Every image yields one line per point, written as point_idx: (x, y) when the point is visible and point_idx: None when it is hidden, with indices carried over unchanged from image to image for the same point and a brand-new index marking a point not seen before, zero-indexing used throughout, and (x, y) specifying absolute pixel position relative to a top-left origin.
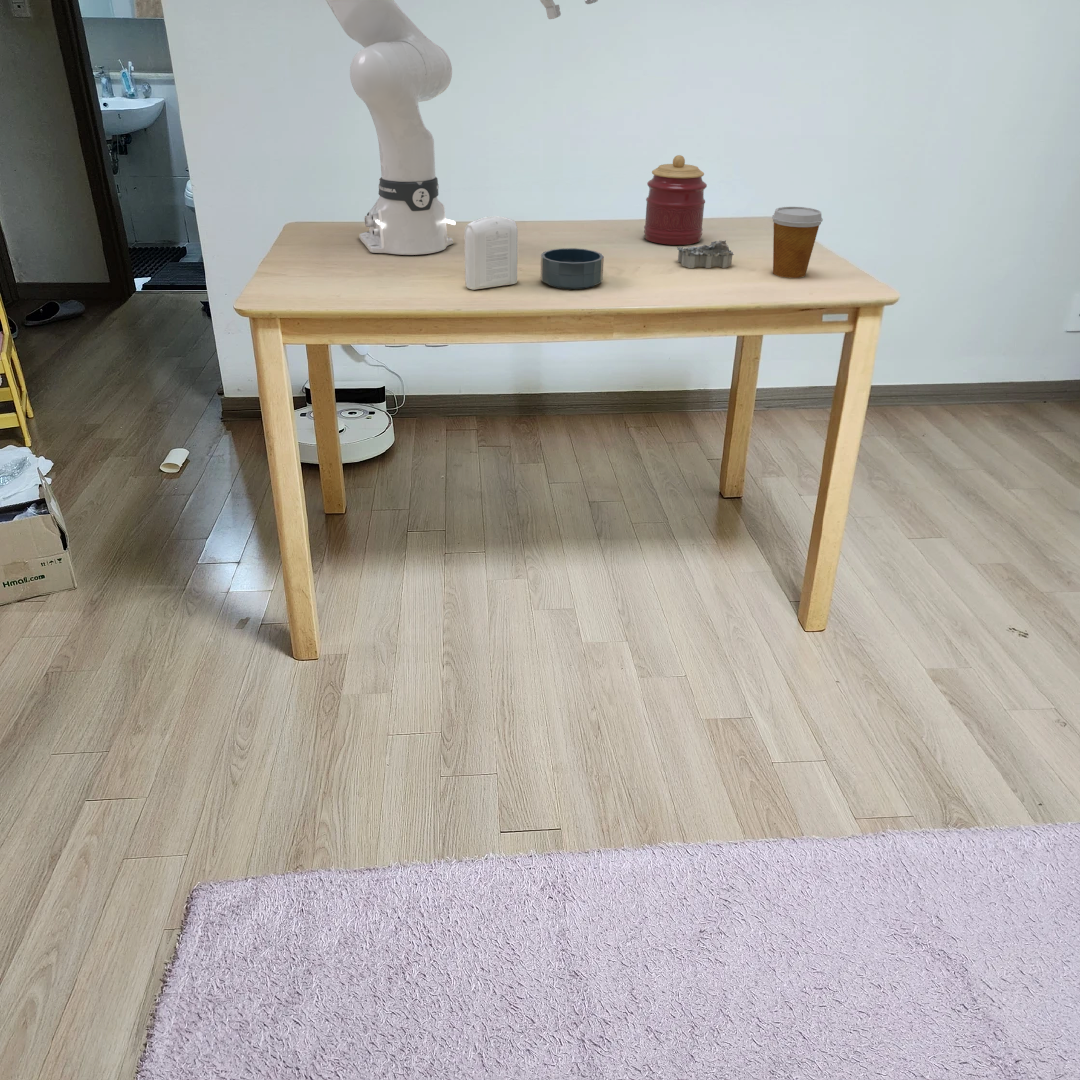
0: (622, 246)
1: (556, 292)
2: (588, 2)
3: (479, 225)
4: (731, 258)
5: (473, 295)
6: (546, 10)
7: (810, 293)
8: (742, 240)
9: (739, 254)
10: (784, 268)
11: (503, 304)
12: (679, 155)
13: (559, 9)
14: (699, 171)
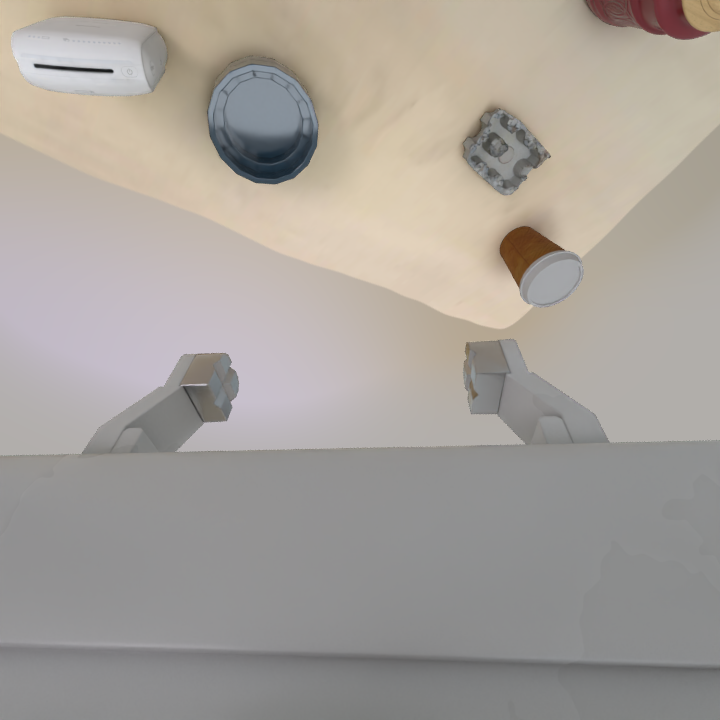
0: None
1: (212, 153)
2: (467, 358)
3: (44, 84)
4: (513, 184)
5: None
6: (170, 377)
7: (461, 301)
8: (684, 55)
9: (582, 132)
10: (503, 256)
11: (105, 163)
12: None
13: (230, 404)
14: None
